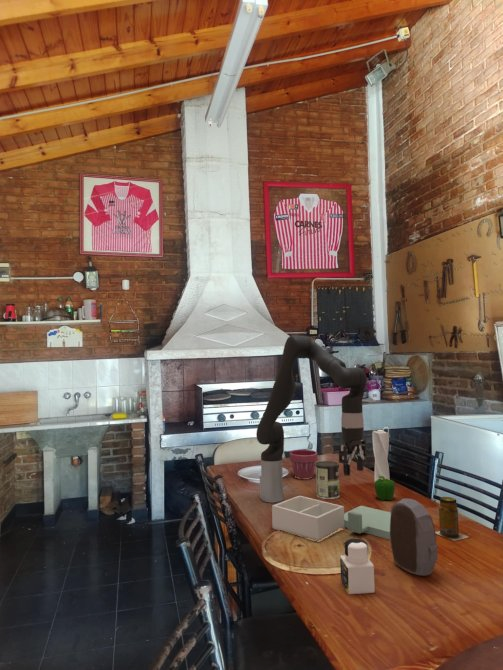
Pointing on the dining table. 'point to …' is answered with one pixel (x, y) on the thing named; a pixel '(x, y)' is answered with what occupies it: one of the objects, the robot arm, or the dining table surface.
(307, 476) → the plant pot
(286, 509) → the parts tub
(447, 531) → the condiment
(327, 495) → the coffee can
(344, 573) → the medicine bottle
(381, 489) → the bell pepper
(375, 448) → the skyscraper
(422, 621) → the dining table surface
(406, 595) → the dining table surface
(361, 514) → the lid
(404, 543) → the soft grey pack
